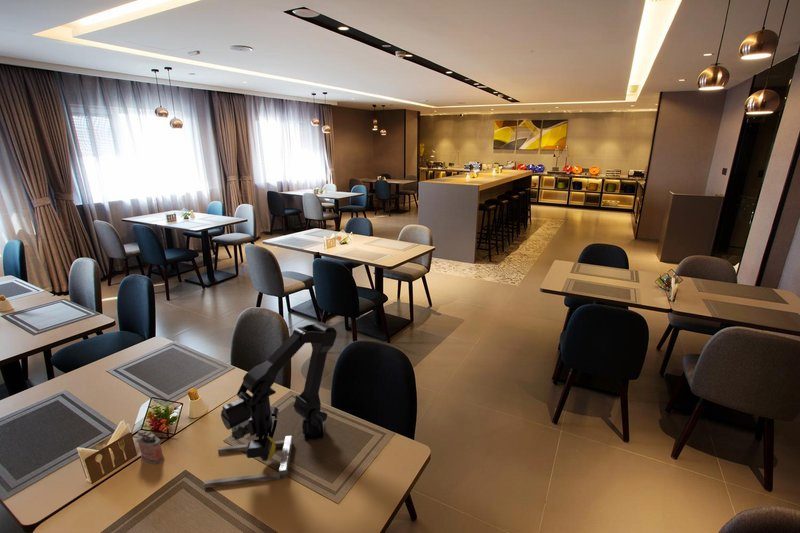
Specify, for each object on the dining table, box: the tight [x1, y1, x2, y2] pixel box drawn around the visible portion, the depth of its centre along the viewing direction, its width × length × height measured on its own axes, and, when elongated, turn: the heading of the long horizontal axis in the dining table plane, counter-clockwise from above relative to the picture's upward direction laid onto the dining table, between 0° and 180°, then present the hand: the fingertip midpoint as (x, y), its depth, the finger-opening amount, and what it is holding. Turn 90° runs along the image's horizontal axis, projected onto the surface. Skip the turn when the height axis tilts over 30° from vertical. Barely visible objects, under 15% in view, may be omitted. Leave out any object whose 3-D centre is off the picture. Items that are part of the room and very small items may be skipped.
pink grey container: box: [136, 429, 165, 465], centre depth 122 cm, size 8×3×10 cm, turn 71°
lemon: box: [259, 436, 277, 460], centre depth 120 cm, size 6×6×8 cm
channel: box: [203, 435, 293, 489], centre depth 120 cm, size 23×14×3 cm, turn 98°
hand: (266, 453), depth 120 cm, fingers closed on lemon, 5 cm apart
